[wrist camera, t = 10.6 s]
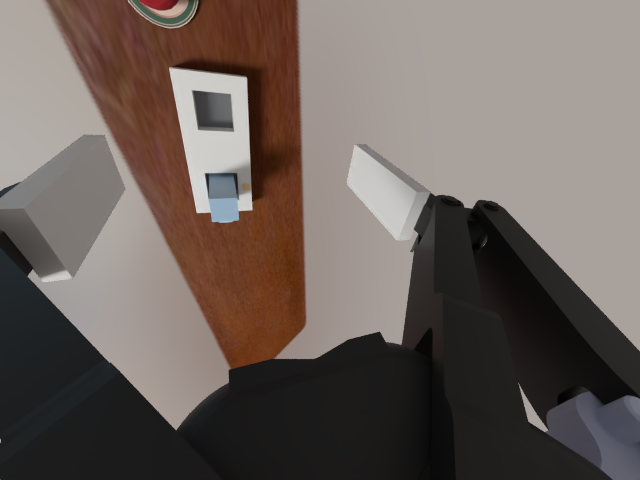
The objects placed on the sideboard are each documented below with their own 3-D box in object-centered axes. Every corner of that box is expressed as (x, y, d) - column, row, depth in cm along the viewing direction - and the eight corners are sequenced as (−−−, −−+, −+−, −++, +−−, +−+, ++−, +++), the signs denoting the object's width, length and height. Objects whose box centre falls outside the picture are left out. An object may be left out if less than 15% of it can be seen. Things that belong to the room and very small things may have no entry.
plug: (209, 171, 40) (208, 199, 32) (232, 171, 41) (237, 197, 34) (212, 195, 42) (212, 226, 35) (234, 194, 44) (239, 224, 36)
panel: (172, 66, 32) (168, 68, 29) (244, 75, 35) (247, 77, 32) (197, 204, 43) (196, 213, 41) (250, 202, 46) (252, 210, 44)
